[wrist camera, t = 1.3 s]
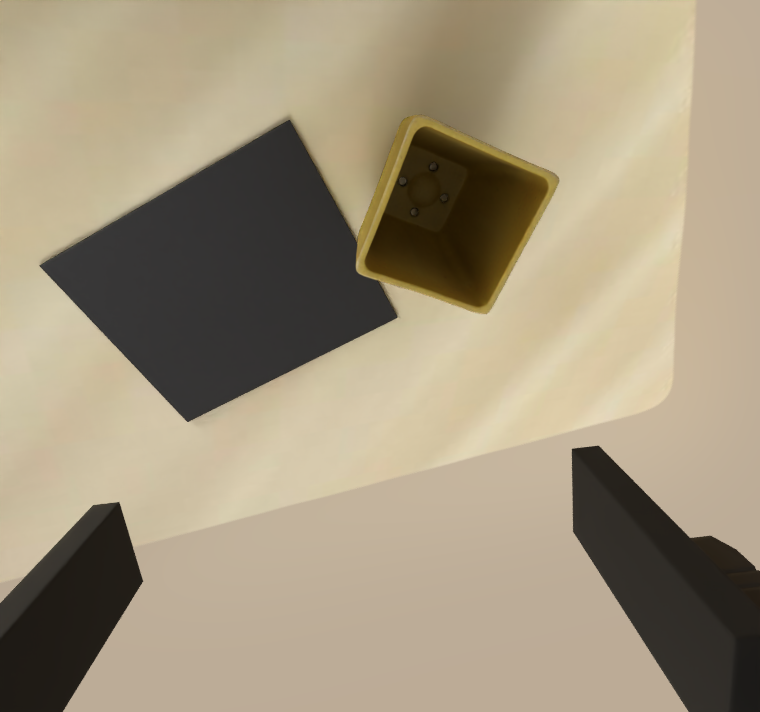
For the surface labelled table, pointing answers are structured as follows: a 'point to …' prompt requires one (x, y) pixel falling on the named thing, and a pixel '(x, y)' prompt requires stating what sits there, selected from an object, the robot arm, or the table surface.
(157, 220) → the felt pad
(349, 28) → the table surface
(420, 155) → the flower pot
